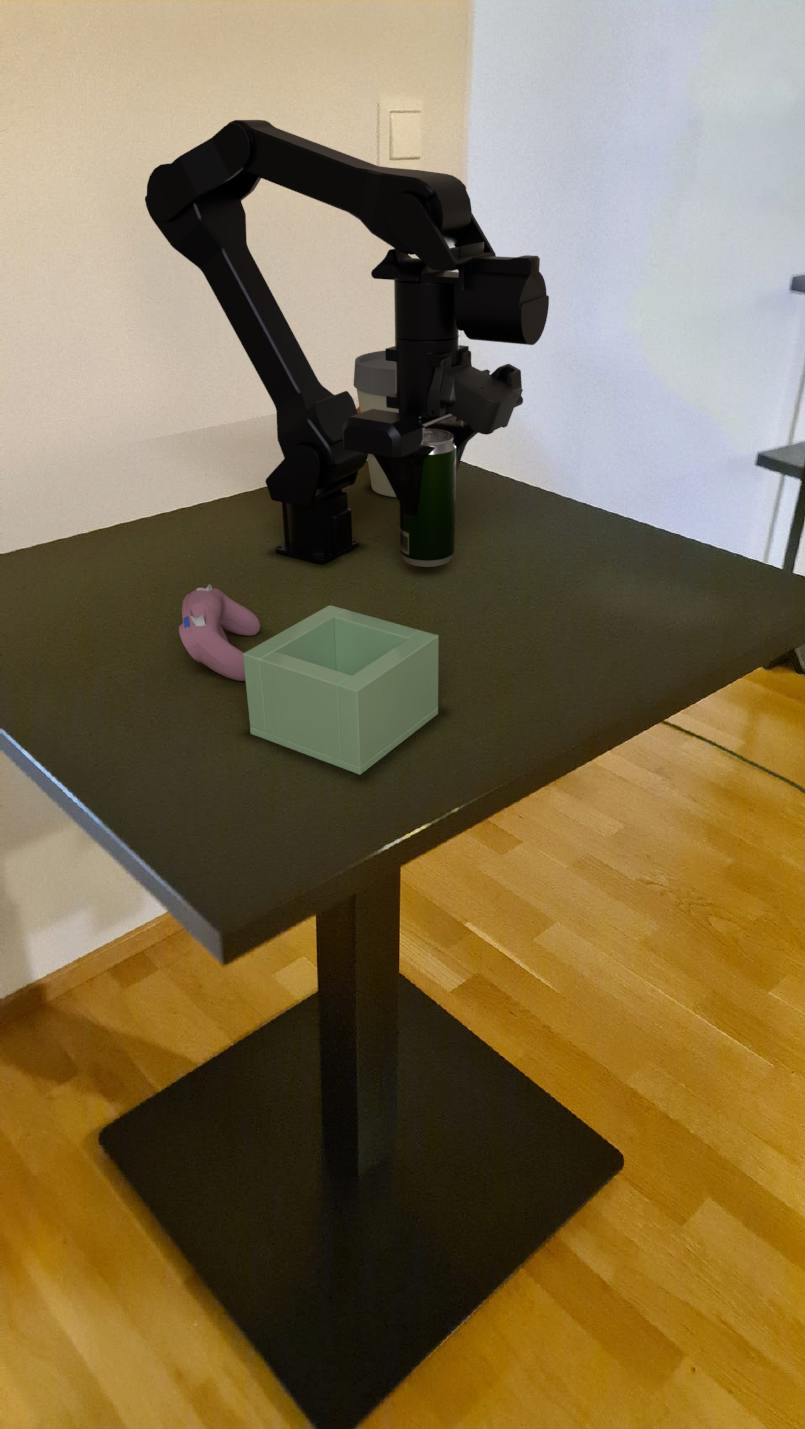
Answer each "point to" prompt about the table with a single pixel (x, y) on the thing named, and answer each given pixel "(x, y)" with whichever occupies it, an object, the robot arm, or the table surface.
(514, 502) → the table surface
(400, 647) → the holder
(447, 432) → the beer can
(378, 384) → the reusable coffee cup
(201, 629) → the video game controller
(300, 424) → the robot arm
